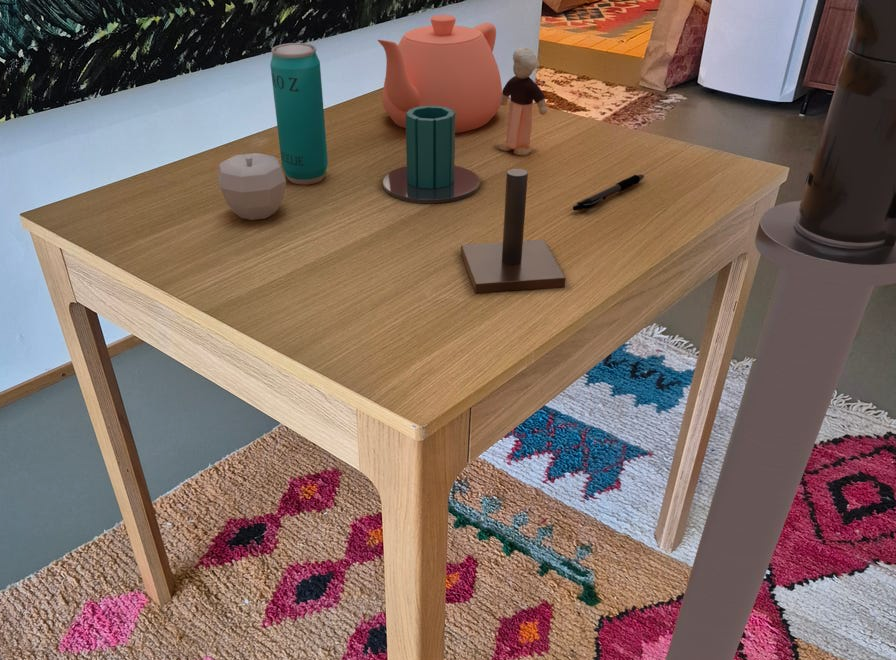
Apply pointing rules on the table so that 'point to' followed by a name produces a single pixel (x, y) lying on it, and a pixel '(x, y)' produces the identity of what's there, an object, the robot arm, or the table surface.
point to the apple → (252, 185)
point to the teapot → (444, 72)
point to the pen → (607, 192)
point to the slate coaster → (459, 189)
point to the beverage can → (299, 112)
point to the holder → (512, 250)
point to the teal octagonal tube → (430, 146)
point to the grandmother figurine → (521, 102)
